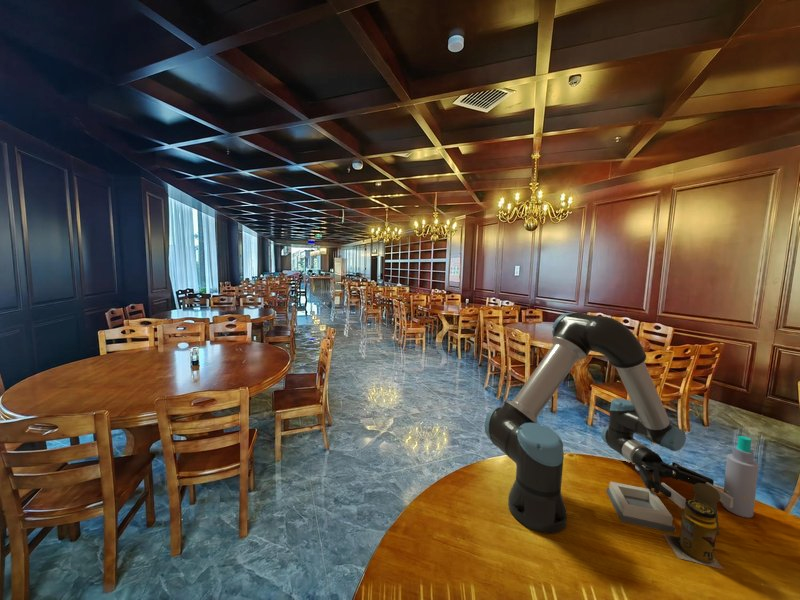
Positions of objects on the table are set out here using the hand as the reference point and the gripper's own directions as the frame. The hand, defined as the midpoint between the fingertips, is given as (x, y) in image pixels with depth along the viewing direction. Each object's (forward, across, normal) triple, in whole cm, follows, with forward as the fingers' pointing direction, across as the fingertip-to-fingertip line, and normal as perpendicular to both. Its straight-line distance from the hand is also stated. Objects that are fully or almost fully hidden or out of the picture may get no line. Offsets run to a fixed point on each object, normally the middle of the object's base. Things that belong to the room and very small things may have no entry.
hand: (708, 503), depth 82 cm
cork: (0, 0, -7) cm, 7 cm away
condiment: (+7, +12, -7) cm, 15 cm away
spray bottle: (-5, -15, -7) cm, 17 cm away
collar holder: (-6, +14, -6) cm, 17 cm away
